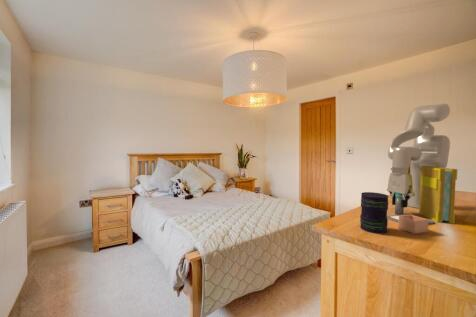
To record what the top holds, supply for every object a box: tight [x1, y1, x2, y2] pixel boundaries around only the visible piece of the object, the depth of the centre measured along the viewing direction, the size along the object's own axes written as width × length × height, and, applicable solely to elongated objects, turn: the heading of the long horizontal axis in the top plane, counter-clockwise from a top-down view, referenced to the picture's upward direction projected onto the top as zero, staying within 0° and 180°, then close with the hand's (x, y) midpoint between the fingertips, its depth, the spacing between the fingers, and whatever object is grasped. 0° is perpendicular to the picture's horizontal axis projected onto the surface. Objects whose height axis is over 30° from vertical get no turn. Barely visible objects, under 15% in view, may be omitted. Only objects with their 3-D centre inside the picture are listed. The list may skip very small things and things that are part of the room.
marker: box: [394, 193, 405, 215], centre depth 114 cm, size 4×4×12 cm
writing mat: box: [387, 213, 436, 225], centre depth 104 cm, size 15×12×1 cm
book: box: [418, 166, 459, 225], centre depth 108 cm, size 17×7×25 cm, turn 168°
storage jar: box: [359, 191, 389, 235], centre depth 92 cm, size 10×10×15 cm
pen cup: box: [398, 214, 429, 235], centre depth 91 cm, size 7×7×6 cm
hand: (399, 205), depth 114 cm, fingers open, 4 cm apart
